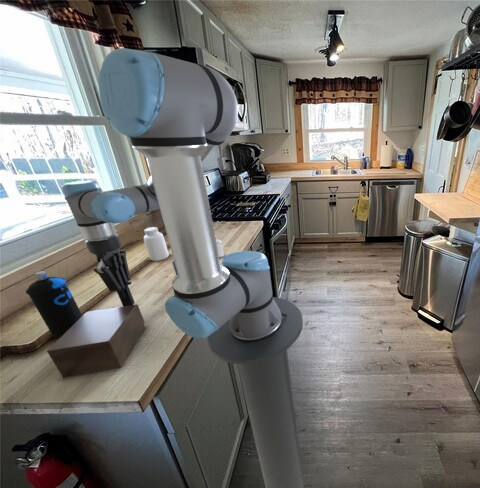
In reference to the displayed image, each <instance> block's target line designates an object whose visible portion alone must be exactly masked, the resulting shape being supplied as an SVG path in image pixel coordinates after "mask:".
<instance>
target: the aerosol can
mask: <svg viewBox="0 0 480 488" xmlns="http://www.w3.org/2000/svg"><path fill="white" fill-rule="evenodd" d="M34 276H35V278H36V280H35V281H34V282H32V283H31V284H29V286H28V287H27V289H26V290H25V294H27V295H28V296H29V298H30V300H31V302H32V303H33V305H34V306H35V309H36V310H37V311H38V313H39V315H40V317H41V319H42V320H43V322H44V323H45V325H46V327H47V328H48V330H49V332H50V335H51V336H50V337H51V338H53V339H60V338H61V337H62V336H63V335H64V334H65V333H66V332H67V331H68V330H69V329H70V328H71V327H72V326H73V325H74V324H75V323H76V322H77V321H78V320H79V319H80V318H81V317H82V316H83V314H82V312H81V309H80V308H79V306H78V304H77V302H76V300H75V298H74V296H73V294H72V292H71V290H70V288H69V286H68V284H67V279H66V278H63V277H60V276H48V275H47V274H46V272H45V271H44V270H42V271H41V270H40V271H37V272H35V273H34Z"/></svg>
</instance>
